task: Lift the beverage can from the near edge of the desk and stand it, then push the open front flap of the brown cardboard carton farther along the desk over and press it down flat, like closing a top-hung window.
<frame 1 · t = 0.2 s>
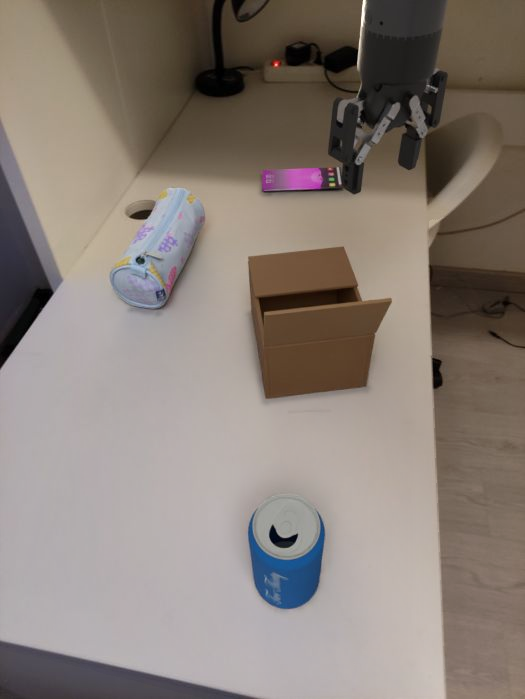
hand: (379, 178, 62), 22 cm above the table, tool pointing down, fingers open, 8 cm apart
beverage can: (286, 577, 53), on the table
pencil case: (165, 270, 86), on the table
smartphone: (301, 182, 102), on the table
carton: (305, 347, 74), on the table
flap: (324, 323, 57), point 14 cm above the table, hinge at 110.0°
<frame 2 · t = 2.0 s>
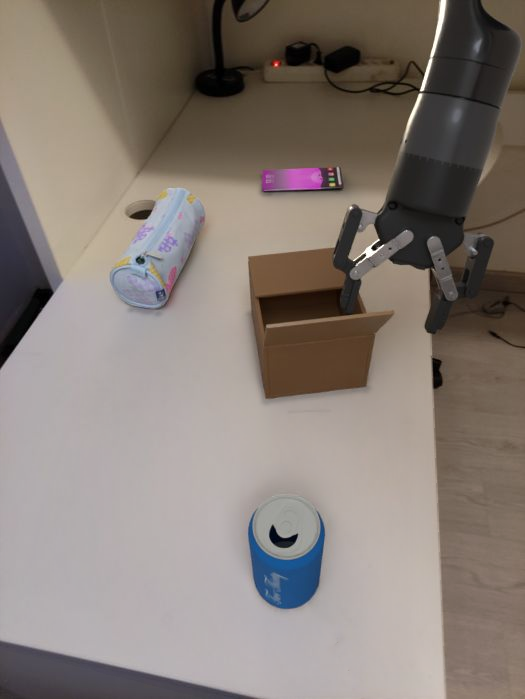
hand: (388, 322, 54), 16 cm above the table, tool tilted 25°, fingers open, 8 cm apart
flap: (325, 329, 57), point 14 cm above the table, hinge at 119.9°, touching gripper
everything else where it was.
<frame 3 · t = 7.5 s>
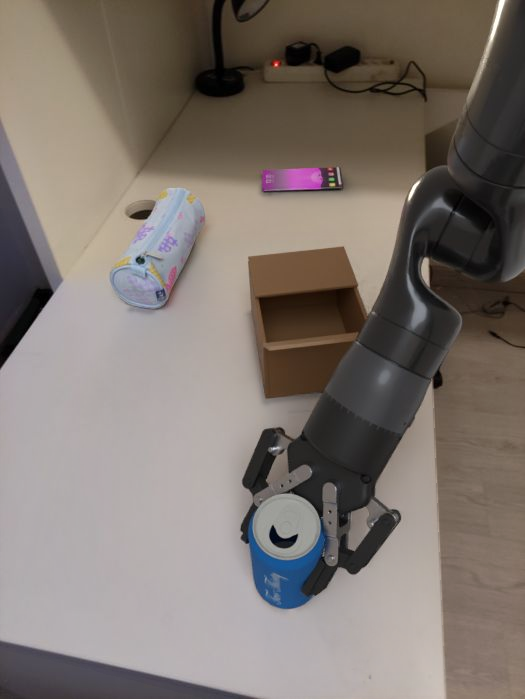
hand: (277, 565, 48), 6 cm above the table, tool tilted 45°, fingers closed on beverage can, 6 cm apart
beverage can: (286, 577, 53), on the table, touching gripper
flap: (326, 339, 57), point 13 cm above the table, hinge at 135.9°
everything else where it was.
when the fingers open (6 cm above the table, at t = 16.0 s): beverage can stays where it is, on the table.
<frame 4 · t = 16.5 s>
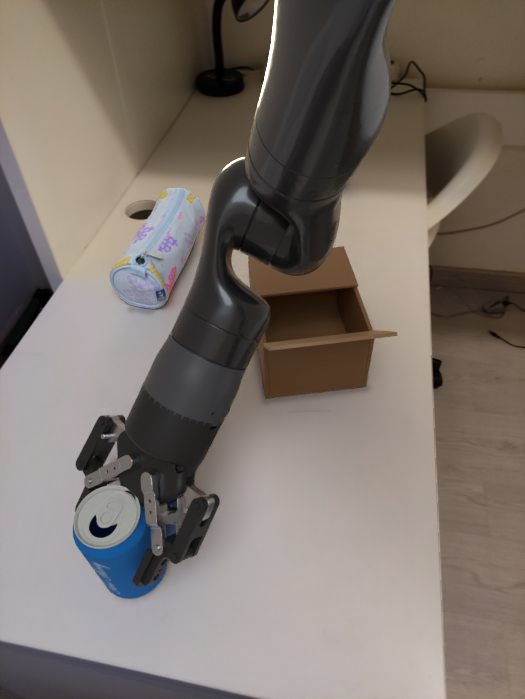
hand: (111, 551, 49), 7 cm above the table, tool tilted 45°, fingers open, 8 cm apart
beverage can: (136, 568, 54), on the table
everything else where it was.
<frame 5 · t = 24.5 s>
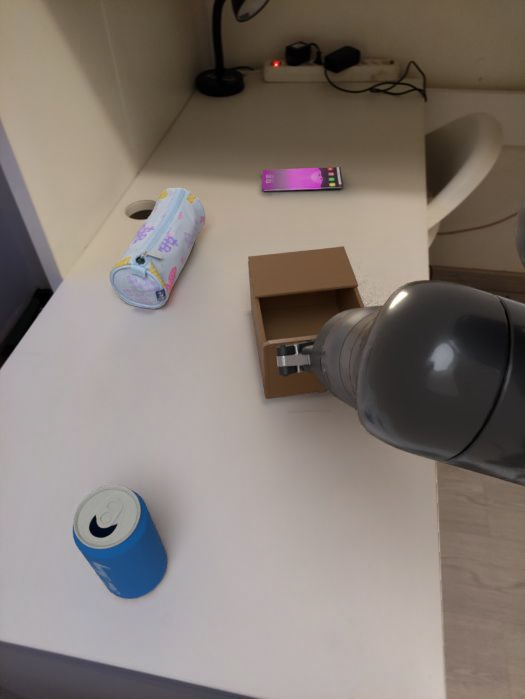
hand: (327, 348, 55), 13 cm above the table, tool tilted 45°, fingers closed
flap: (326, 336, 57), point 13 cm above the table, hinge at 131.3°, touching gripper
everything else where it was.
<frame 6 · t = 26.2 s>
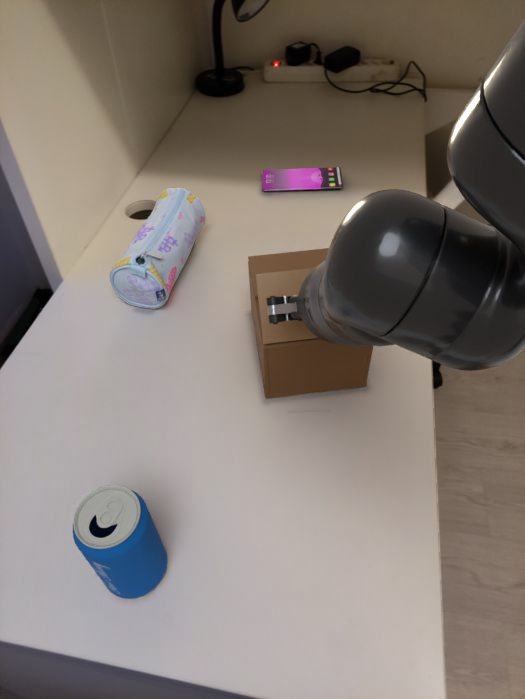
hand: (315, 306, 60), 13 cm above the table, tool tilted 45°, fingers closed
flap: (316, 303, 60), point 13 cm above the table, hinge at 47.8°, touching gripper
everything else where it was.
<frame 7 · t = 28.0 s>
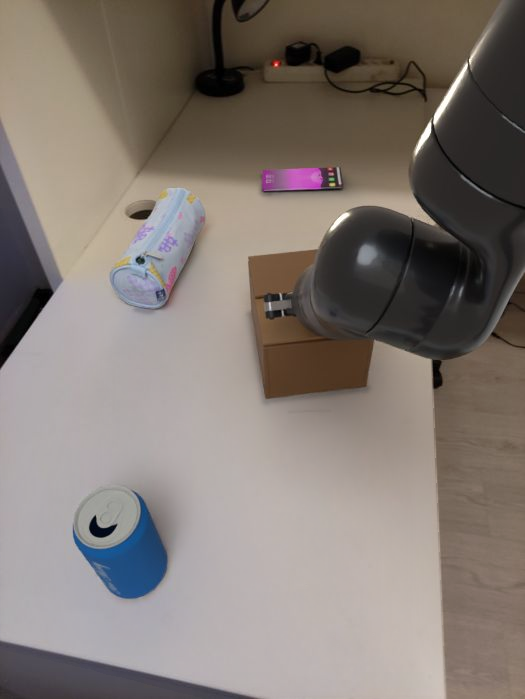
hand: (310, 303, 64), 11 cm above the table, tool tilted 45°, fingers closed
flap: (313, 315, 64), point 10 cm above the table, hinge at -2.9°, touching carton, gripper
everything else where it was.
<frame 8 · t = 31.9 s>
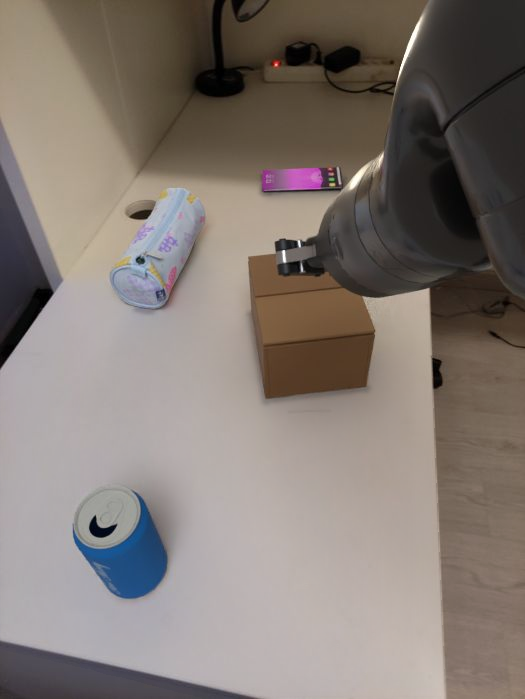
hand: (335, 263, 48), 24 cm above the table, tool tilted 45°, fingers closed
flap: (313, 314, 64), point 10 cm above the table, hinge at -1.1°
everything else where it was.
at the end: flap at -1° (first picture: +110°); beverage can inside the target area (0.1 cm from its centre), on the table; beverage can tilted 0° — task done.
